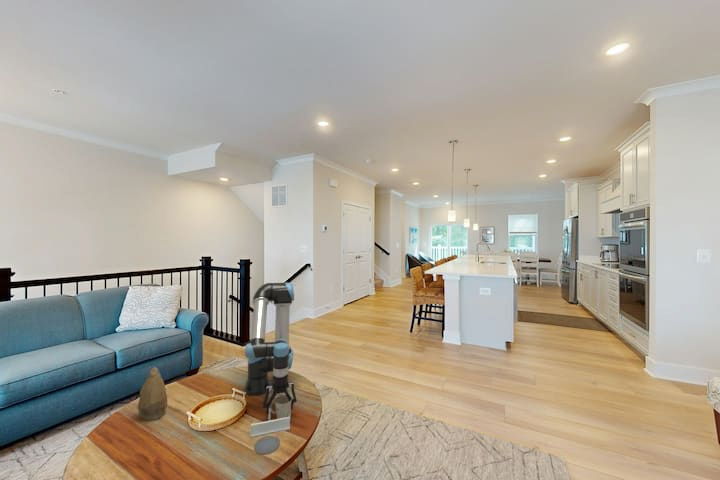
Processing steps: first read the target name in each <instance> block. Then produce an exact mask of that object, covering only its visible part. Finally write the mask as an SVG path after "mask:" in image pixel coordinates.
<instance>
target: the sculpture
mask: <svg viewBox="0 0 720 480" xmlns="http://www.w3.org/2000/svg"><path fill="white" fill-rule="evenodd" d="M139 395H140V396H139V400H138V404H137V405H138V406H137V410H138V412H139V413H138V414H139V416H140V418H142V419H144V420H149V421H150V420H160V419H161V418H162V417H164V415H165V414H166V410H167V407H168V395H167V390H166V385H165V382H164V379H163V378H162V375H161V373H160V371H159V369H158V367H155V366H154V367H152V368H151V369H150V371H149V373H148V374H147V376H146V379H145V381H144V383H143V385H142V387H141V388H140V391H139Z"/></svg>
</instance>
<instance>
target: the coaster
mask: <svg viewBox="0 0 720 480" xmlns="http://www.w3.org/2000/svg"><path fill="white" fill-rule="evenodd" d="M280 446H281V441H280V439H279V437H277V436H275V435H267V436H263V437H261V438H259V439H258V440H257V441H256V442H255V444H254V446H253V450H254V452H256V454H258V455H262V456H263V455H265V456H266V455H268V454H269V455H270V454H272V453H274V452H275V451H277V450H278V449H279V447H280Z"/></svg>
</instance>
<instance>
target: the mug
mask: <svg viewBox="0 0 720 480" xmlns="http://www.w3.org/2000/svg"><path fill="white" fill-rule="evenodd" d="M292 399H293V398H292V397H291V401H289V399H288V398H287V396H286V394H284V395H279V396H277V397H275V398H274V400H273V401H272V403H271V405H270V408H271V411H270V413H272V414H274V415H275V416H276V419H280V418H285V417H289V415H290V408H291V402H292ZM272 404H274V405H275V411H274V410H273V408H272Z"/></svg>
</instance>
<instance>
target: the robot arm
mask: <svg viewBox="0 0 720 480" xmlns="http://www.w3.org/2000/svg"><path fill="white" fill-rule="evenodd" d="M293 301H295V291H294V285H293V283H291V282H266V283H264V284H262V285H261V286H260V287H258V289H257V290H256V291H255V293H254V295H253V297H252V304H253V314H252V323H251V332H250V334H251V335H250V342H249V343H246V345H245V348H244V351H245V352H244V354H245V355H244V357H245V358H246V359H247V379H246V381H245V384H244V387H243V388H244V389H243V392H244V393H245V392H246V394H245V395H247V396H250V397H251V396H252V397H253V396H254V397H256V396H261V395H264V394H265V395H264V398H263V402H262V408H263V409H266V410H265V411H266V412H265V413H266V415H267V419H268V420H267V421H270V420H271V408H272V407H271V408H270V405H271V403H272V401H274V400H275V398H276V396H277V395H279V394H284V395H286V396H287V398H288V399H289V401H291V398H292V397H293V398H292V402H291V408H290V415H289V417H290V418H291V416H292V410H293V409H294V403H297V401H298V400H297V397H296V393H295V384H294V383H295V382H293V381H291V382H289V371H290V370H291V368H292V366H293V365H292V364H293V359H294V349H292V346H291V345H290V308H291V305H292V304H293ZM270 302H273V305H274V307H275V320H274V321H275V322H274V323H275V326H274V331H275V332H274V341H268V342H267V341H266V329H267V316H268V315H267V313H268V312H267V311H268V305H269V304H270ZM271 372H272V375H273V376H272V384H271V381H270V379H269V374H268V373H271ZM288 387H289V388H290V389H291V390H290V391H291V393H292V397H291V394H290V393H289V392H288ZM271 390H272V394H271V395H270V392H271ZM269 395H270V397H269ZM268 399H269V400H268ZM271 406H272V405H271Z"/></svg>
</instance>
